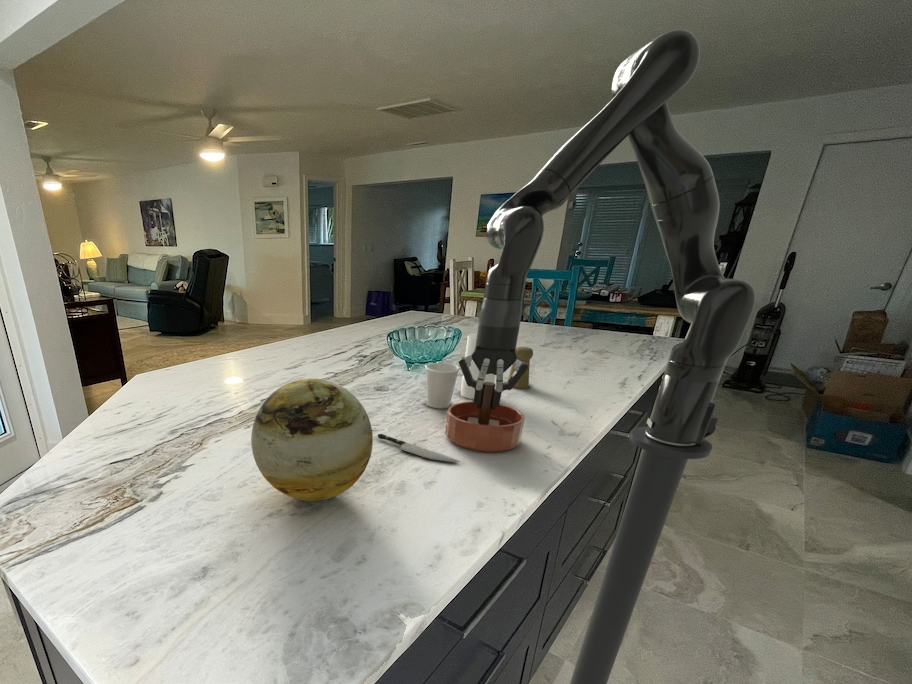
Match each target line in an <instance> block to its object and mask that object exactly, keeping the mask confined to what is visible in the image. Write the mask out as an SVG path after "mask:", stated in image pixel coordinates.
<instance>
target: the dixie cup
mask: <svg viewBox="0 0 912 684" xmlns="http://www.w3.org/2000/svg"><path fill="white" fill-rule="evenodd" d="M424 368H425V378H426V380H425V381H426V405H427V406H428V407H430V408H434V409H448V408H449V407H450V406H451V402H452V398H453V395H454V394H453V393H454V390H455V386H456V382H457V379H458V374H459V371H460V370H461V367H460V366H458V365H456V364H453V363H448V362H447V363H446V362H433V363H428V364H426V365H425V366H424Z"/></svg>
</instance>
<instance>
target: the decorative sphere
mask: <svg viewBox="0 0 912 684" xmlns="http://www.w3.org/2000/svg"><path fill="white" fill-rule="evenodd" d="M252 423H253V424H252V429H251V436H250V439H251V440H250V442H251V443H250V445H251V450H252V451H251V453H252V456H253V459H254V461H255V464H256V466H257V469H258V470H259V472H260V474H261V475H262V476H263V478H264V479H265V480H266V481H267V482H268V484H270V485H271V487H273V488H274V489H276V490H277V491H278V492H280V493H282V494H283V495H285V496H287V497H289V498H293V499H297V500H299V501H307V502H309V501H310V502H312V501H313V502H315V501H324V500H328V499H331V498H335V497H337V496H338V495H341V494H343V493H344V492H346V491H347V490H349V489H350V488H351V487H352V486H354V484H355V483H356V482H358V480H359V479H360V478H361V477H362V475H363V474H364V472H365V471H366V468H367V466H368V464H369V462H370V459H371V455H372V451H373V445H374V441H373V439H374V438H373V429H372V424H371V420H370V418H369V415H368V413H367V411H366V410H365V407H364V406H363V404H362V403H361V401H360V400H359V399H358V398H357V397H356V396H355V395H354V394H353V393H352V392H351V391H350V390H348V389H347V388H345V387H344V386H342V385H340V384H338V383H335V382H333V381H332V380H328V379H322V378H303V379H298V380H293V381H290V382H289V383H286V384H284V385H282V386H280V387H279V388H277V389H276V390H275V391H273V392H272V393H271V394H270V395H269V396H268V397H267V398H265V400H264V401H263V403H262V405H261V406H260V408H259V409H258V411H257V413H256V414H255V418H254V421H253V422H252Z"/></svg>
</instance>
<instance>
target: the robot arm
mask: <svg viewBox="0 0 912 684" xmlns="http://www.w3.org/2000/svg"><path fill="white" fill-rule="evenodd" d="M700 56H701V49H700V43H699V40H698V39H697V37H696V36H695V34H693V33H692V32H691V31H689V30H686V29H673V30H669V31H666V32H664V33H662V34H660V35H658V36H656V37H655V38H653V39H652V40H649V42H648V43H646V44H645V45H643V46H642V47H640V48H639V49H637V50H636V51H635V52H633V53H632V54H630V55H629V56H628V57H626V58H625V59H624V60H623V61H621V63H620V64H619V65H618V67H617V68H616V70H615V71H614V74H613V77H612V80H611V86H610V90H611V91H610V92H611V100H610V101H609V102H608V103H607V104H606V105H605V106H604V107H603V108H602V109H601V110H600V111H599V112H598V113H597V114H596V115H594V117H592V119H590V121H588V122H587V123H586V124H585V125H584V126H582V127H581V128H580V129H579V130H578V131H577V132H576V133H575V134H574V135H572V136H571V137H570V138H569V139H568V140H567V141H566V142H564V144H563V145H562V146H560V148H559V149H558V150H557V151H556V152H555V153H554V154H553V155H552V157H550V158H549V159H548V161H547V162H546V163H545V164H544V165H543V166H542V168H541V169H539V171H538V172H537V173H536V174H535V176H534V177H533V178H531V180H530V181H529V182H528V183H526V185H524V186H523V187H522V188H521V189H519V190H518V191H517V192H516V193H514V194H513V195H512V196H511V197H510V198H509V199H507V200H506V201H505V202H504V203H502V204H501V206H500V207H498V208H497V210H496V211H495V212H494V214H493V215H492V216H491V218H490V220H489V221H488V223H487V227H486V232H485V233H486V241H487V242H488V244H489V245H490V246H491V247H493V248H494V249H497V250H501V253H500V256H499V260H498V262H497V263H496V264H495V265H492V266H491V267H490V268H489V269H488V271H487V274H486V279H485V285H484V293H483V299H482V303H481V307H480V311H479V316H478V325H477V332H476V333H477V339H476V346H475V349H474V351H473V352H472V355H470V356H467V357H465V356H461V357H459V359H458V364H459V368H460V370H461V372H462V376H463V375H464V378H465V380H466V383H467V385H468V386H469V387H473V388H474V389H475V395H474V399H473V401H474V404H476V407H478V408H480V403H481V396H482V386H483V382H484V379H485V376H486V374H494V375H495V390H494V396H493V402H492V408H491V409H495V407H498V406H499V404H501V398H502V393H503V392H504V391H507V390H508V391H511V390H513V387H514V385H515V384H516V383H517V382H518V380H519V379H520V378H521V376H522V375H523V374H524V373H525V371H526V370H527V369H528V364H527V362H525V361H521V360H519V359H518V358H517V355H516V352H515V350H516V348H517V343H518V339H519V332H520V327H521V326H520V325H521V321H522V316H523V303H524V296H525V290H526V284H527V277H528V275H529V272H530V270H531V268H532V266H533V263H534V261H535V258H536V256H537V253H538V251H539V249H540V246H541V244H542V240H543V238H544V237H543V236H544V231H545V222H544V218H543V216H544V215H545V214H549V213H551V212H554V211H556V210H558V209H559V208H560V207H562V206H563V205H564V204H565V203H566V202H567V201H568V199H569V198H571V196H572V195H574V193H575V192H576V191H577V190H578V189H579V188H580V187H581V185H582V184H583V183H584V182H585V181H586V180H587V179H588V178H589V177H590V176H591V174H592V173H593V172H594V171H595V170H596V169H597V168H598V167H599V166H600V165H601V164H602V163H603V161H604V160H606V158H608V156H610V154H611V153H612V152H614V150H616V148H617V147H618V146H619V145H620V144H621V143H622V142H623V141H624V140H626V138H628V140H629V143H630V145H631V148H632V149H633V153H634V155H635V158H636V162H637V164H638V168H639V171H640V174H641V177H642V181H643V183H644V186H645V189H646V193H647V197H648V201H649V205H650V208H651V210H652V215H653V218H654V221H655V224H656V227H657V229H658V230H657V231H658V232H659V235H660V238H661V242H662V245H663V246H662V247H663V248H664V249H663V250H664V252H665V254H666V257H667V260H668V263H669V267H670V271H671V277H672V281H673V288H674V289H673V290H674V295H675V302H676V307H677V311H678V313H679V315H680V316H681V318H682V319H683V320H684V321H686V322H687V323H689V324H691V327H690V328H689V332H688V334H687V336H686V338H685V340H683V342H679V343H676V344H674V345H673V347H672V348H671V350H670V353H669V357H668V360H667V362H666V366H665V369H664V372H663V376H662V379H661V382H660V385H659V389H658V392H657V396H656V398H655V401H654V405H653V408H652V411H651V414H650V417H647V420H646V424H647V426H646V427H647V429H646V431H645V436H646V437H647V438H648V439H650V440H652V441H654V442H657V443H660V444H664V445H668V446H673V447H694V446H696V447H701V444H702V441H703V439H706V438H708V437H709V436H711V435H712V434H714V433H715V431H716V429H717V428H716V427H717V426H716V425H717V422H718V417H717V416H715V415H714V411H715V408H716V406H717V404H716V402H714V401H713V400H714V398H715V395H716V393H717V389H718V387H719V384H720V381H721V378H722V375H723V373H724V370H725V367H726V365H727V362H728V360H729V358H730V357H731V356H732V355H733V354H734V353H735V351H736V350H737V349H738V347H739V345H740V343H741V341H742V339H743V336H744V334H745V331H746V329H747V326H748V325H749V323H750V320H751V318H752V315H753V312H754V309H755V305H756V301H757V300H756V299H757V297H756V290H755V288H754V287H753V286H752V285H751V284H750V283H749V282H747V281H745V280H741V279H735V278H729V277H725V276H724V275H723V272H722V270H721V268H720V264H719V262H718V258H717V255H716V251H715V235H716V230H717V228H718V227H717V226H718V222H719V217H720V216H719V214H720V207H721V205H720V196H719V190H718V187H717V183H716V178H715V176H714V171H713V169H712V166H711V165H710V162H709V161H708V160H707V159H706V157H705V156H704V155H703V153H701V151H699V150H698V149H697V147H695V146H694V145H693V144H692V143H690V142H689V140H688V139H686V138H685V137H684V136H683V135H682V134H681V132H680V131H679V130H678V128H677V127H676V125H675V123H674V120H673V118H672V115H671V112H670V107H669V105H668V101H669V100H670V99H672V98H673V97H674V96H675V95H677V94H678V93H680V91H682V90H683V89H684V88H685V87H686V86H687V85H688V83H689V82H690V81H691V79H692V78H693V76H694V74H695V72H696V71H697V68H698V65H699V62H700ZM472 360H473V361H474V363H475V364H476V366H477V368H478V370H479V375H478V379H477V381H476V380H474V379H473V377H472V375H471V372H470V370H469V367H470V366H471V361H472ZM513 363H515V366H514V369H515V372H514V373H513V374H512V376H511V377H510V378H509V380H508V379H507V380H508V381H507V380H506V381H505V382H504V373H506V372H507V371H508V369H509V368H510V367H512V364H513Z"/></svg>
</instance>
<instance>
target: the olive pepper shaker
mask: <svg viewBox="0 0 912 684" xmlns="http://www.w3.org/2000/svg"><path fill="white" fill-rule="evenodd" d="M515 352H516V355H517V358H518V359H519V360H521V361H525V362H527V364H528V369H527V370H526V371H525V373H524V374H523V375H522V376H521V378H520V379H519V380H518V382H517V383H516V384H515V385H514V387H513V388H514V389H528V388H529V384H530V366H531V365H530V364H531V361H530V360H531V359H532V358H533V356H534V350H533V349H532V348H531V347H528V346H516V350H515ZM514 366H515V363H513V364H512V365H511V366H510V367H511V368H510V371H509V375H508V377H507V380H506V382H507V381H508V380H509V378H510V377H511V376H512V374H513V373H514V372H515V369H514ZM513 388H512V389H513Z"/></svg>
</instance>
